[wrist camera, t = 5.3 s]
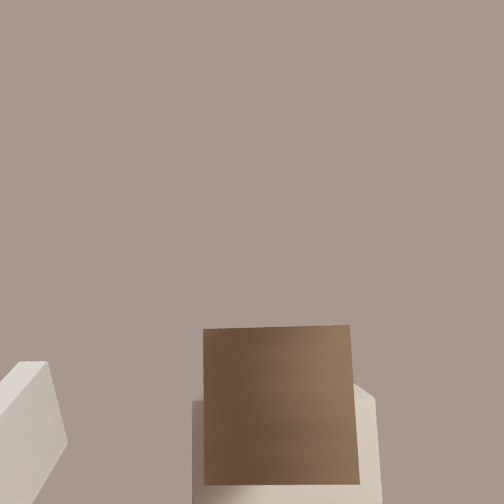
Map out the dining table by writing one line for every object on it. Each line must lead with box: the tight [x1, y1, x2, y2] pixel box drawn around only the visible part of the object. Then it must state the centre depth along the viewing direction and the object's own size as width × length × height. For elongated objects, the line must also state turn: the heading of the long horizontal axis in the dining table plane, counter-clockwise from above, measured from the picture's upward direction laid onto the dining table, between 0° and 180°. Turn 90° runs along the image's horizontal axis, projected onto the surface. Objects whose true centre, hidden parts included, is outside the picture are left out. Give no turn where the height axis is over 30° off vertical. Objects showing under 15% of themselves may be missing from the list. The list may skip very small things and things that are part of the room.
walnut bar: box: [203, 325, 360, 485], centre depth 21 cm, size 3×26×3 cm, turn 176°
